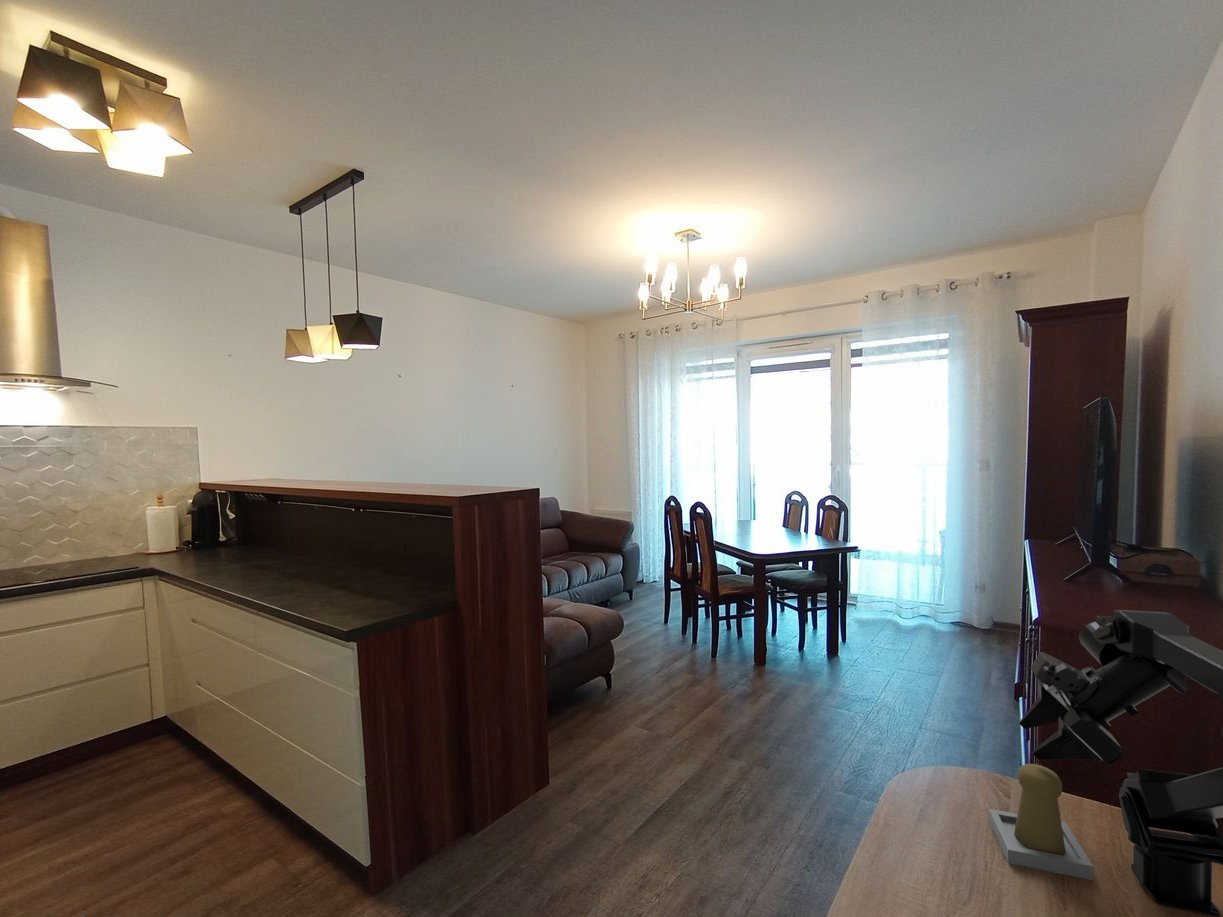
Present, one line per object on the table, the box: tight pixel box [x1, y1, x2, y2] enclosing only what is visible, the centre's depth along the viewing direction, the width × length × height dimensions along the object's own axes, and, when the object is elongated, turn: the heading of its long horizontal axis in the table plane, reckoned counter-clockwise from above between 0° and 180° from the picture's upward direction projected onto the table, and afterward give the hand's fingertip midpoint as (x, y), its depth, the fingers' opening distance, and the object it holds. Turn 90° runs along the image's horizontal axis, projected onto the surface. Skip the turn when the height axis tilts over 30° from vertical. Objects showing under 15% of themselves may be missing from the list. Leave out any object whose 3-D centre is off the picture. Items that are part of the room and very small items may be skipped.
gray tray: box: [988, 808, 1095, 881], centre depth 81 cm, size 10×9×2 cm
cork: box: [1014, 763, 1065, 856], centre depth 81 cm, size 6×6×11 cm
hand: (1028, 740), depth 86 cm, fingers open, 9 cm apart
